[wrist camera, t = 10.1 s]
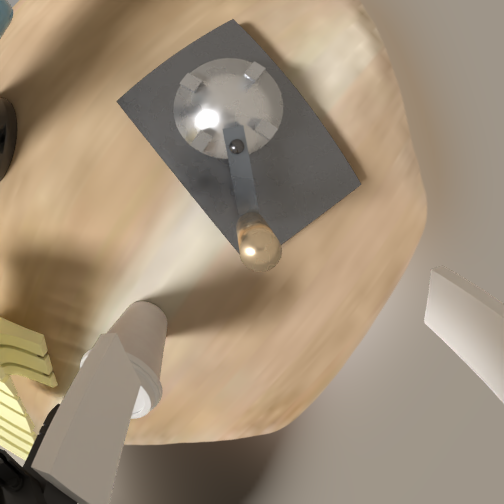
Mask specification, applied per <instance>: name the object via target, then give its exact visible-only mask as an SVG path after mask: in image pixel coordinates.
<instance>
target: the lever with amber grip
mask: <svg viewBox="0 0 504 504" xmlns="http://www.w3.org/2000/svg"><path fill="white" fill-rule="evenodd" d="M265 69H266V68H265V67H263V66H261V65H260V64H258V63H257V62H255V61H254V62H253V63H252V62H249V61H246V60H242V59H236V58H223V59H217V60H213V61H210V62H207V63H205V64H203V65H201V66H199V67H198V68H196V69H195V70H193V71H192V72H191V73H187V74H186V76H185V77H184V78H183V79H182V81H181V82H180V87H179V89H178V91H177V93H176V96H175V100H174V110H173V111H174V119H175V123H176V126H177V128H178V130H179V132H180V134H181V135H182V137H183V138H184V139H185V141H186V142H187V143H189V144H190V145H191V146H192V147H193V148H195V149H196V150H198V151H200V152H201V153H203V154H206V155H208V156H211V157H214V158H220V159H228V162H229V167H230V172H231V177H232V183H233V188H234V193H235V198H236V204H237V209H238V214H239V220H238V222H237V225H236V230H237V237H238V244H239V252H240V258H241V260H242V262H243V264H244V265H245V266H246V267H247V268H248V269H250V270H252V271H256V272H264V271H268V270H270V269H272V268H273V267H275V266H276V265H277V263H278V262H279V260H280V258H281V254H282V248H281V244H280V242H279V240H278V239H277V237H276V236H275V234H274V233H273V231H272V230H271V228H270V227H269V225H268V224H267V222H266V221H265V219H264V218H263V217H262V216H261V215H260V214H259V208H258V203H257V197H256V192H255V186H254V180H253V175H252V169H251V164H250V158H249V154H251V153H253V152H255V151H257V150H259V149H260V148H261V147H263V146H264V145H265V144H266V143H268V142H269V141H270V139H271V138H272V137H273V136H274V134H275V133H276V131H277V130H278V127H279V125H280V123H281V119H282V115H283V99H282V95H281V92H280V89H279V87H278V85H277V83H276V82H275V80H274V79H273V78H272V77H271V75H270V74H269V73H268V72H266V71H265Z"/></svg>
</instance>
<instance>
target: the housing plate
mask: <svg viewBox="0 0 504 504" xmlns="http://www.w3.org/2000/svg"><path fill="white" fill-rule="evenodd" d="M223 58H236V59H242V60H246V61H249V62H252V63H253V62H254V61H255V62H257V63H258V64H260V65H261V66H263V67H265V68H266V69H265V71H266V72H268V73H269V74H270V75H271V77H272V78H273V79H274V80H275V82H276V83H277V85H278V87H279V89H280V92H281V95H282V99H283V115H282V119H281V123H280V125H279V127H278V130H277V131H276V133H275V134H274V136H273V137H272V138H271V139H270V141H269V142H268V143H266V144H265V145H264V146H263V147H261V148H260V149H259V150H257V151H255V152H253V153H251V154H249V158H250V164H251V169H252V175H253V180H254V186H255V192H256V197H257V203H258V208H259V214H260V215H261V216H262V217H263V218H264V219H265V221H266V222H267V224H268V225H269V227H270V228H271V230H272V231H273V233H274V234H275V236H276V237H277V239H278V240H279V242H280V244H283V243H284V242H285V241H287V240H288V239H289V238H291V237H292V236H294V235H295V234H296V233H298V232H299V231H300V230H302V229H303V228H304V227H306V226H307V225H308V224H310V223H311V222H312V221H314V220H315V219H316V218H318V217H319V216H320V215H322V214H323V213H324V212H326V211H327V210H328V209H330V208H331V207H332V206H334V205H335V204H336V203H338V202H339V201H340V200H342V199H343V198H344V197H345V196H347V195H348V194H349V193H351V192H352V191H353V190H355V189H356V188H357V187H359V186H360V185H361V183H360V181H359V180H358V178H357V176H356V175H355V173H354V171H353V170H352V168H351V166H350V165H349V163H348V162H347V160H346V158H345V157H344V155H343V154H342V152H341V151H340V149H339V148H338V146H337V144H336V143H335V141H334V140H333V138H332V137H331V136H330V134H329V133H328V131H327V130H326V128H325V127H324V125H323V124H322V123H321V121H320V120H319V118H318V117H317V116H316V114H315V113H314V111H313V110H312V109H311V107H310V106H309V105H308V103H307V102H306V101H305V99H304V98H303V97H302V96H301V94H300V93H299V92H298V90H297V89H296V88H295V87H294V85H293V84H292V83H291V82H290V80H289V79H288V78H287V77H286V76H285V74H284V73H283V72H282V71H281V70H280V68H279V67H278V66H277V65H276V64H275V63H274V61H273V60H272V59H271V58H270V57H269V56H268V55H267V54H266V52H265V51H264V50H263V49H262V48H261V47H260V46H259V45H258V44H257V43H256V42H255V41H254V40H253V38H252V37H251V36H250V35H249V34H248V33H247V32H246V31H245V30H244V29H243V28H242V27H241V26H240V25H239V24H238V23H237V22H236V21H235V20H234V19H232V20H230V21H228V22H227V23H225V24H223V25H221V26H219V27H218V28H216V29H214V30H212V31H211V32H209V33H207V34H206V35H204V36H202V37H201V38H199V39H197V40H196V41H194V42H193V43H191V44H190V45H188V46H187V47H185V48H184V49H182V50H181V51H179V52H178V53H176V54H175V55H173V56H172V57H171V58H169V59H168V60H166V61H165V62H164V63H162V64H161V65H160V66H158V67H157V68H156V69H154V70H153V71H152V72H151V73H149V74H148V75H147V76H145V77H144V78H143V79H142V80H141V81H139V82H138V83H137V84H136V85H135V86H133V87H132V88H131V89H130V90H129V91H128V92H126V93H125V94H124V95H123V96H122V97H121V98H120V99H119V100H117V103H118V104H119V105H120V106H121V108H122V109H123V110H124V112H125V113H126V114H127V115H128V117H129V118H130V119H131V120H132V122H133V123H134V124H135V125H136V127H137V128H138V129H139V131H140V132H141V133H142V134H143V136H144V137H145V138H146V139H147V141H148V142H149V143H150V144H151V146H152V147H153V148H154V149H155V151H156V152H157V153H158V154H159V156H160V157H161V158H162V159H163V161H164V162H165V163H166V164H167V166H168V167H169V168H170V169H171V171H172V172H173V173H174V174H175V176H176V177H177V178H178V179H179V181H180V182H181V183H182V184H183V186H184V187H185V188H186V189H187V190H188V192H189V193H190V194H191V195H192V197H193V198H194V199H195V200H196V202H197V203H198V204H199V205H200V207H201V208H202V209H203V210H204V211H205V213H206V214H207V215H208V216H209V218H210V219H211V220H212V221H213V223H214V224H215V225H216V226H217V227H218V229H219V230H220V231H221V232H222V234H223V235H224V236H225V237H226V238H227V240H228V241H229V242H230V243H231V245H232V246H233V247H234V248H235V249H236V251H237V252H238V253H239V254H240V252H239V244H238V237H237V230H236V225H237V222H238V220H239V214H238V209H237V204H236V198H235V193H234V188H233V183H232V177H231V172H230V167H229V162H228V159H220V158H214V157H211V156H208V155H206V154H203V153H201V152H200V151H198V150H196V149H195V148H193V147H192V146H191V145H190V144H189V143H187V142H186V141H185V139H184V138H183V137H182V135H181V134H180V132H179V130H178V128H177V126H176V123H175V119H174V111H173V110H174V100H175V96H176V93H177V91H178V89H179V87H180V82H181V81H182V79H183V78H184V77H185V76H186V74H187V73H191V72H192V71H193V70H195V69H196V68H198V67H199V66H201V65H203V64H205V63H207V62H210V61H213V60H217V59H223Z"/></svg>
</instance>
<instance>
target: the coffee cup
mask: <svg viewBox="0 0 504 504" xmlns="http://www.w3.org/2000/svg"><path fill="white" fill-rule="evenodd" d="M167 326H168V322H167V318H166V316H165V314H164V313H163V311H162V310H161V309H160V308H159V307H157V306H156V305H154V304H152V303H150V302H146V301H138V302H135V303H133V304H131V305H130V306H129V307H128V308H127V309H126V310H125V312H124V313H123V314H122V315H121V316H120V318H119V319H118V320H117V321H116V322H115V324H114V325H113V326H112V327H111V328H110V330H109V331H108V332H107V333H117V335H118V337H119V339H120V341H121V343H122V346H123V348H124V350H125V352H126V354H127V356H128V358H129V360H130V362H131V364H132V366H133V368H134V370H135V372H136V373H137V375H138V377H139V379H140V381H141V386H140V389H139V392H138V396H137V399H136V402H135V406H134V409H133V412H132V416H131V419H134V418H140V417H143V416H145V415H146V414H147V413H148V412H149V411H151V410H152V409H153V408H154V407H155V406H156V405H157V404H158V403H159V401H160V399H161V397H162V386H161V383H160V373H161V365H162V358H163V351H164V345H165V339H166V333H167ZM107 333H106V334H107ZM91 350H92V349H90V350H89V351H87V352H86V353H85V354H84V355H83V357H82V359H81V363H80V368H81V366H82V365H83V363H84V361H85V360H86V358H87V356H88V355H89V353H90V351H91Z"/></svg>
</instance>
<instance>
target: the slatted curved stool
mask: <svg viewBox="0 0 504 504" xmlns="http://www.w3.org/2000/svg"><path fill="white" fill-rule="evenodd" d="M47 351H48V350H47V346H46V342H45V338H44V335H43V334H40V333H37V332H35V331H32V330H30V329H27V328H25V327H22V326H20V325H17V324H15V323H13V322H10V321H8V320H6V319H4V318H2V317H0V445H1V446H2V447H4V448H5V449H7V450H8V451H10V452H12V453H13V454H15V455H17V456H18V457H20V458H22V459H24V460H26V459H27V457H28V455H29V452H30V450H31V448H32V446H33V444H34V442H35V440H36V438H37V435H36V434H35V432H33V429H34V427H35V426H34V424H33V422H32V420H31V418H30V417H29V415H28V414H27V413H26V409H25V407H24V405H23V403H22V401H21V399H20V397H19V396H17V390H16V388H15V386H14V384H13V381H12V379H11V377H10V376H9V375H20V376H23V377H27V378H29V379H32V380H35V381H37V382H40V383H42V384H45V385H47V386H50V387H52V388H54V387H55V386H58V384H57V381H56V378H55V375H54V372H51V371H52V370H53V368H52V365H51V361H50V358H49V355H48V354H46V353H47Z"/></svg>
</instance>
